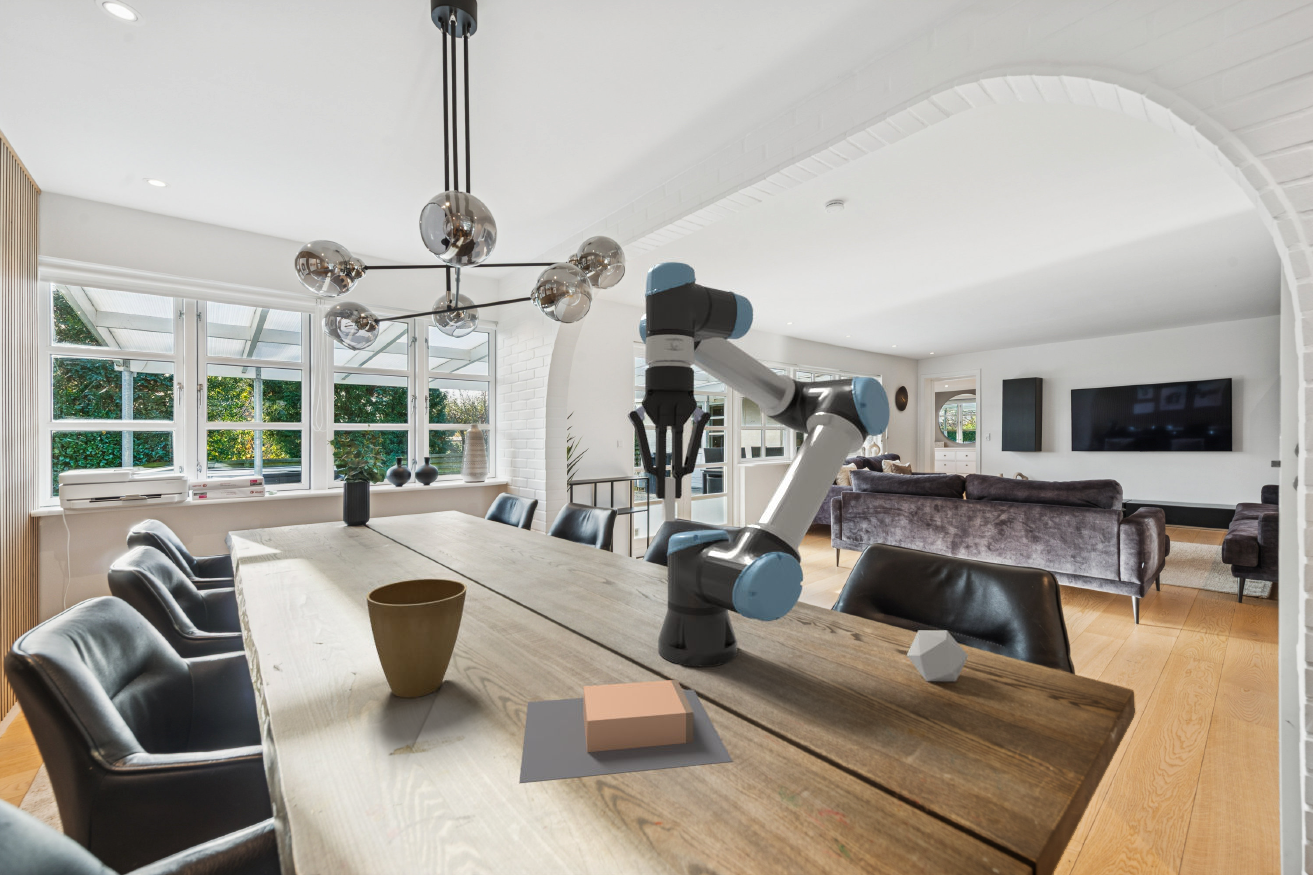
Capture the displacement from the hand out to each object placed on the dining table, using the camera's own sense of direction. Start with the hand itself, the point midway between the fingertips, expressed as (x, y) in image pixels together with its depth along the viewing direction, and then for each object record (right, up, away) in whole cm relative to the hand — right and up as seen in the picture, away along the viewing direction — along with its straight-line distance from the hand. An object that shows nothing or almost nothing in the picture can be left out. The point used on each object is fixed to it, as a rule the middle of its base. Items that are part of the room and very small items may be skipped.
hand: (668, 519), depth 85 cm
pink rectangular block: (-12, -26, -9) cm, 30 cm away
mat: (-7, -28, -8) cm, 30 cm away
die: (+47, -29, +10) cm, 56 cm away
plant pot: (-41, -28, +5) cm, 50 cm away
